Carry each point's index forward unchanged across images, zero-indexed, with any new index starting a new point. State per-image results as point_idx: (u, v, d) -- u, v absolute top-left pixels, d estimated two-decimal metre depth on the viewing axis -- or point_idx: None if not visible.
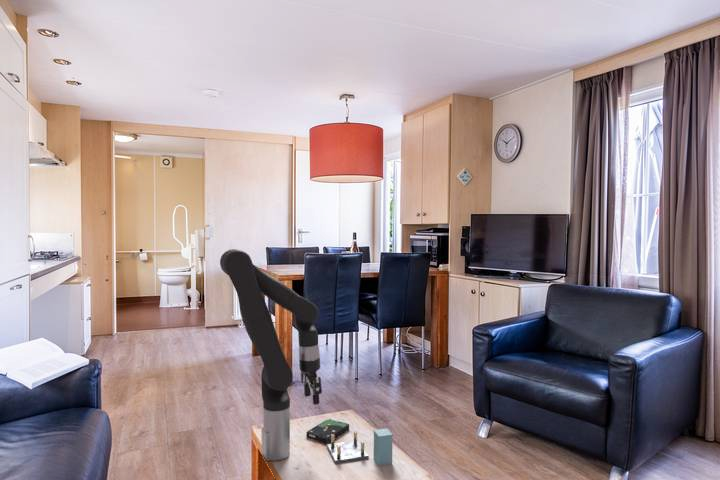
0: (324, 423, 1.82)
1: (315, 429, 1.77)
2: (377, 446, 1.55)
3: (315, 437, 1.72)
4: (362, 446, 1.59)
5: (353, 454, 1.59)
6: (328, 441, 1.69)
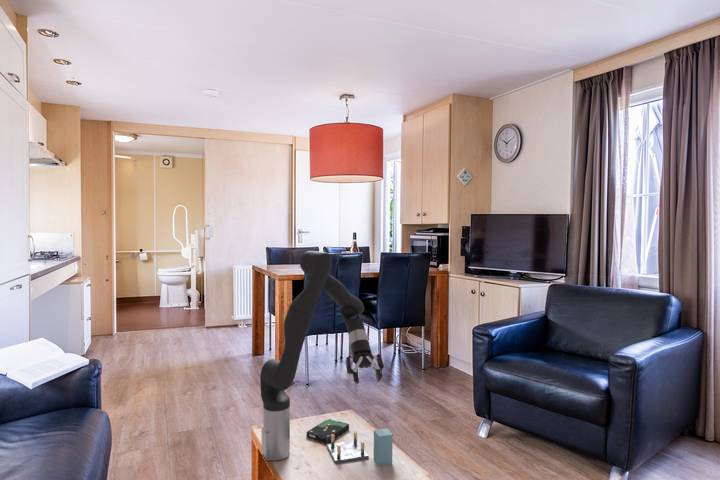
0: (324, 423, 1.82)
1: (315, 429, 1.77)
2: (377, 446, 1.55)
3: (315, 437, 1.72)
4: (362, 446, 1.59)
5: (353, 454, 1.59)
6: (328, 441, 1.69)
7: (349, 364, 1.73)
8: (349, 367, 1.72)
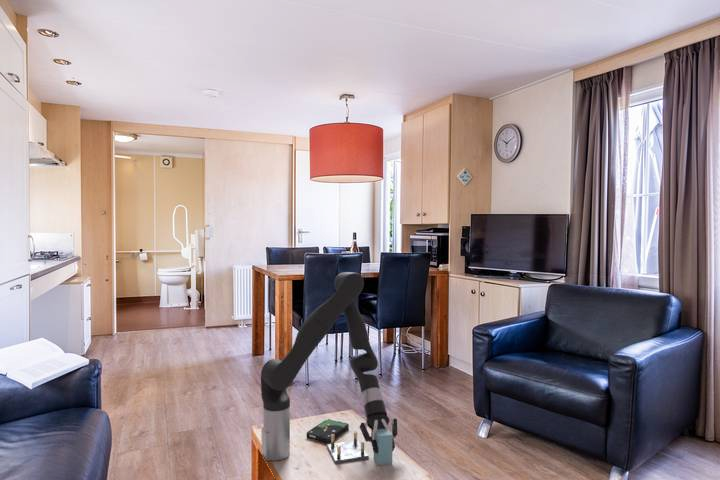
0: (323, 423, 1.82)
1: (315, 429, 1.77)
2: None
3: (316, 437, 1.71)
4: (362, 446, 1.59)
5: (353, 454, 1.59)
6: (329, 441, 1.69)
7: (366, 431, 1.58)
8: (368, 434, 1.57)
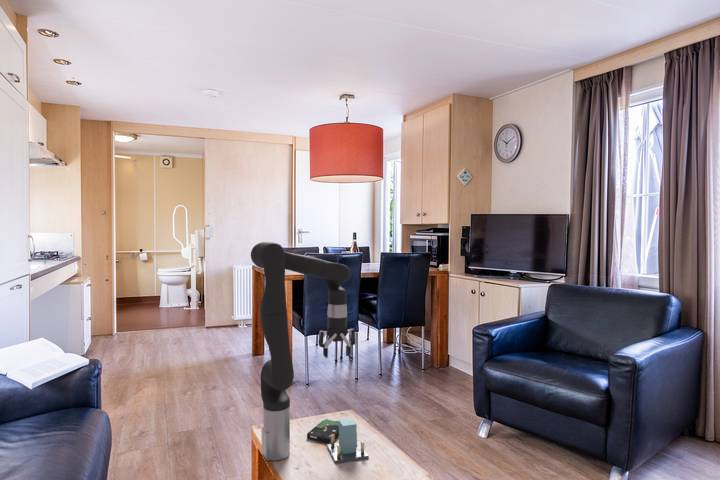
0: (322, 424, 1.81)
1: (315, 430, 1.76)
2: (341, 436, 1.61)
3: (317, 438, 1.71)
4: (362, 446, 1.59)
5: (353, 454, 1.59)
6: None
7: (322, 340, 1.74)
8: (321, 343, 1.74)
